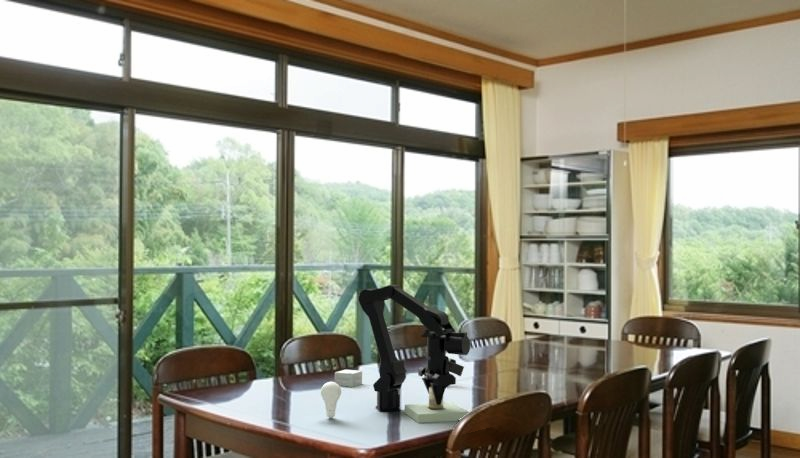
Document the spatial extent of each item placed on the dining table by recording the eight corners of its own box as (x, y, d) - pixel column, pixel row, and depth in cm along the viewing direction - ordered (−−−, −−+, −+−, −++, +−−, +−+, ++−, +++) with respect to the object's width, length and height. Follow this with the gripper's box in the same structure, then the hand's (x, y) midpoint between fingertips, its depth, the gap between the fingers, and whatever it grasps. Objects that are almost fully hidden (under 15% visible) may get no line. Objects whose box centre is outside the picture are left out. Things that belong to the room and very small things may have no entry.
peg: (431, 418, 227) (431, 389, 228) (426, 415, 232) (426, 386, 232) (445, 417, 229) (445, 388, 229) (440, 414, 233) (440, 386, 233)
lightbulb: (317, 419, 224) (317, 382, 225) (326, 415, 230) (326, 379, 230) (335, 421, 222) (335, 384, 222) (344, 417, 228) (344, 380, 228)
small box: (344, 382, 288) (344, 369, 288) (362, 384, 284) (362, 370, 284) (334, 385, 281) (334, 372, 281) (352, 387, 277) (352, 373, 277)
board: (418, 422, 221) (418, 414, 221) (404, 412, 235) (404, 404, 235) (468, 419, 226) (468, 411, 226) (452, 410, 239) (452, 402, 239)
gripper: (472, 356, 224) (471, 408, 224) (450, 347, 242) (450, 396, 241) (437, 357, 221) (436, 410, 220) (417, 348, 239) (417, 397, 238)
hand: (436, 403), depth 230 cm, fingers closed on peg, 4 cm apart
